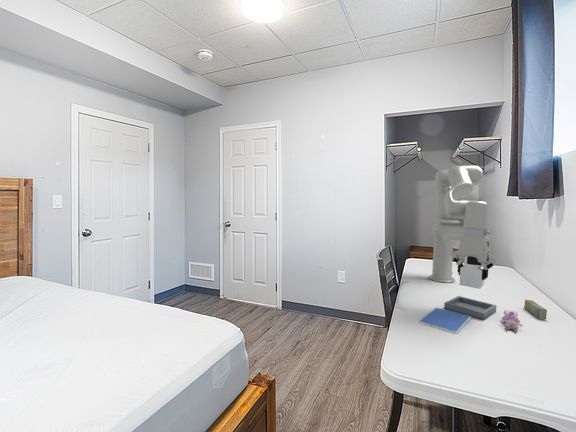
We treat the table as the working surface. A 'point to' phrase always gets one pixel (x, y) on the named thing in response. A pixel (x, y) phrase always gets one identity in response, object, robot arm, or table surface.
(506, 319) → the rabbit figure
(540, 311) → the medication box
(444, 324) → the blue flat pad
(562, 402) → the table surface
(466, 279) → the medicine bottle
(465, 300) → the tray
